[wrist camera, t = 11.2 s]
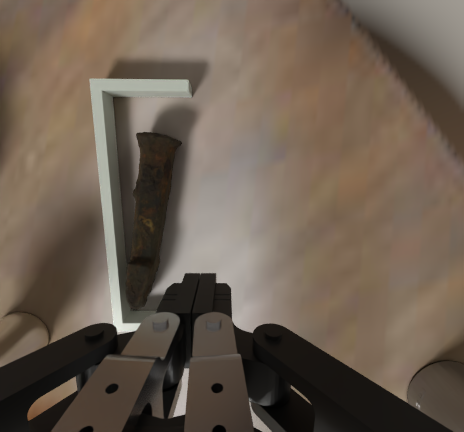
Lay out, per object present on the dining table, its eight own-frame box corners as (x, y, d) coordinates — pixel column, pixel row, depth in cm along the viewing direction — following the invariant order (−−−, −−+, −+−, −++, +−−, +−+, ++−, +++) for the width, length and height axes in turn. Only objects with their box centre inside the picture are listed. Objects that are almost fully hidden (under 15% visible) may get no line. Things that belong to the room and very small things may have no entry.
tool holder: (191, 87, 27) (188, 79, 24) (197, 317, 32) (195, 330, 30) (101, 86, 27) (89, 78, 24) (122, 318, 32) (114, 331, 30)
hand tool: (146, 131, 28) (130, 125, 23) (184, 140, 28) (175, 136, 24) (122, 292, 32) (104, 315, 27) (155, 299, 32) (143, 322, 27)
